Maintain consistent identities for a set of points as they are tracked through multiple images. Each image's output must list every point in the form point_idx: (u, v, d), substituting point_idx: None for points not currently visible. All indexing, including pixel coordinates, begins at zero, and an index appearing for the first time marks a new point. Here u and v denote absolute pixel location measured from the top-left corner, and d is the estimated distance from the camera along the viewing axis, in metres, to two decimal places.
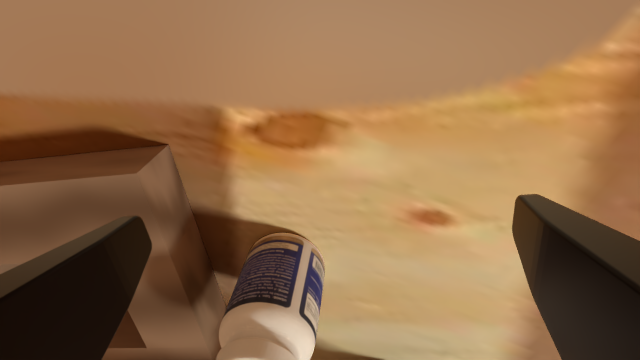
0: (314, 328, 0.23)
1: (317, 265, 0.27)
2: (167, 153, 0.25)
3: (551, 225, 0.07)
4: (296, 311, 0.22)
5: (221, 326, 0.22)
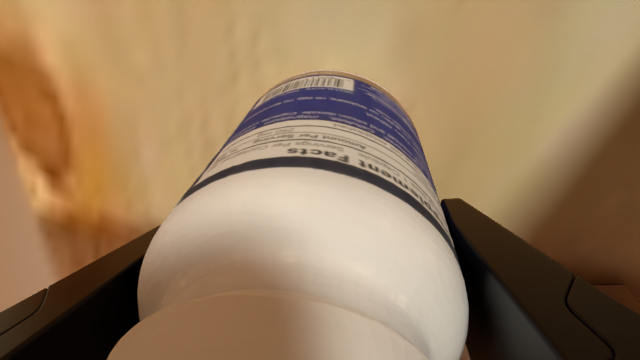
0: (260, 159, 0.06)
1: (269, 95, 0.10)
2: None
3: (457, 229, 0.07)
4: (169, 214, 0.06)
5: None
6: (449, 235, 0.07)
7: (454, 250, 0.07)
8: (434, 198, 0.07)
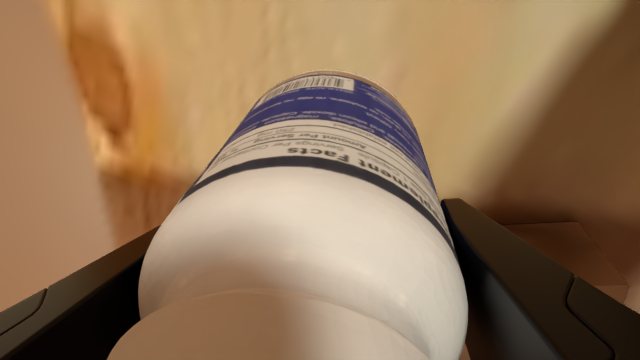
0: (260, 159, 0.06)
1: (270, 94, 0.10)
2: None
3: (457, 229, 0.07)
4: (169, 214, 0.07)
5: None
6: (449, 234, 0.07)
7: (454, 249, 0.07)
8: (434, 197, 0.07)
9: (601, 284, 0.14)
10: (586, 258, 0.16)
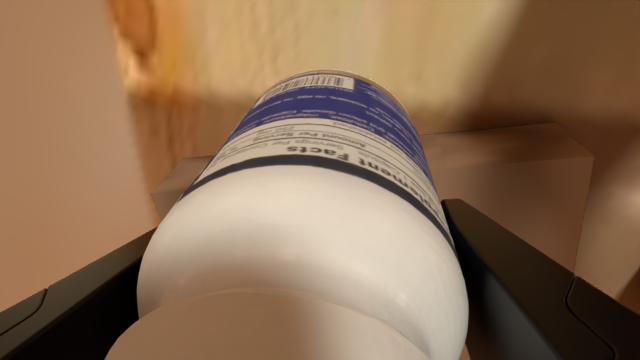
0: (260, 157, 0.06)
1: (269, 94, 0.10)
2: (186, 161, 0.23)
3: (457, 229, 0.07)
4: None
5: None
6: (449, 233, 0.07)
7: (454, 248, 0.06)
8: (434, 196, 0.07)
9: (570, 157, 0.16)
10: (559, 143, 0.18)
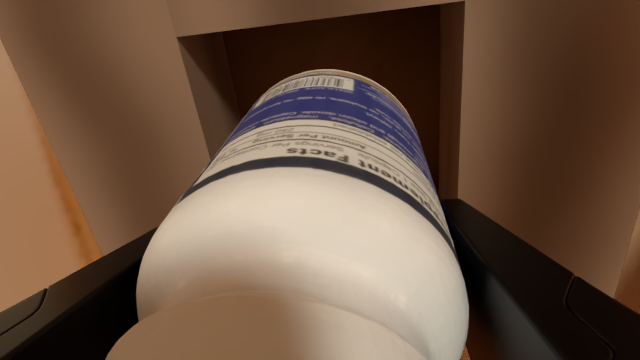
0: (259, 159, 0.06)
1: (269, 94, 0.10)
2: None
3: (457, 229, 0.07)
4: None
5: None
6: (449, 235, 0.07)
7: (454, 250, 0.06)
8: (434, 198, 0.07)
9: None
10: None
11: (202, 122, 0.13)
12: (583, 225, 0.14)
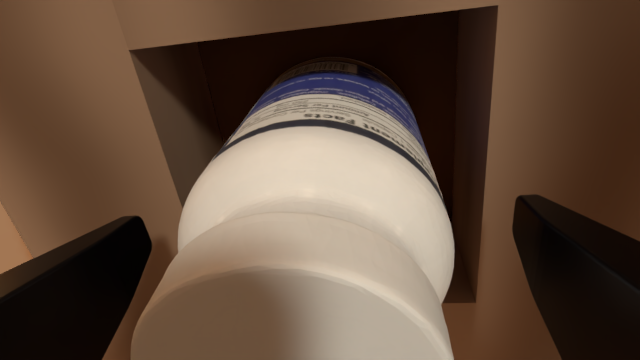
0: (281, 122, 0.07)
1: (282, 78, 0.12)
2: None
3: (551, 225, 0.07)
4: None
5: None
6: (439, 189, 0.08)
7: (442, 199, 0.08)
8: (426, 160, 0.09)
9: None
10: None
11: (167, 153, 0.11)
12: None
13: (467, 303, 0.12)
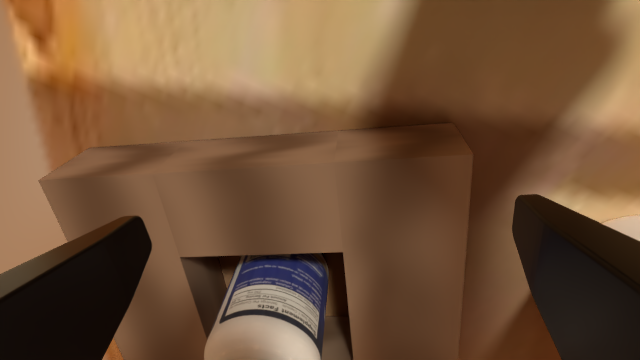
0: (248, 309, 0.18)
1: None
2: (90, 150, 0.22)
3: (551, 225, 0.07)
4: (216, 325, 0.19)
5: None
6: (315, 331, 0.19)
7: (315, 338, 0.19)
8: (313, 315, 0.20)
9: (451, 155, 0.17)
10: (447, 141, 0.18)
11: (194, 296, 0.22)
12: (428, 359, 0.22)
13: None
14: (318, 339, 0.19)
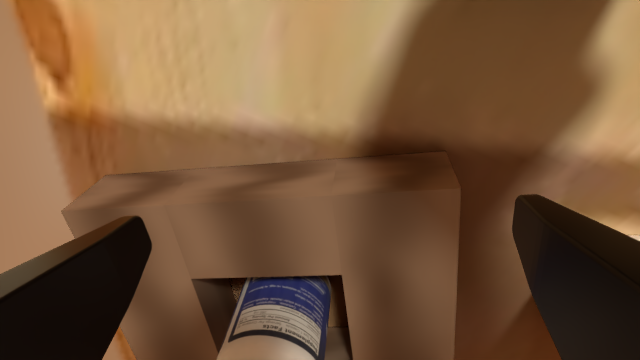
0: (254, 330, 0.20)
1: None
2: (107, 178, 0.24)
3: (551, 225, 0.07)
4: (225, 344, 0.20)
5: None
6: (317, 349, 0.21)
7: (317, 355, 0.20)
8: (315, 333, 0.21)
9: (440, 188, 0.18)
10: (438, 173, 0.19)
11: (205, 313, 0.23)
12: None
13: None
14: (319, 356, 0.20)
